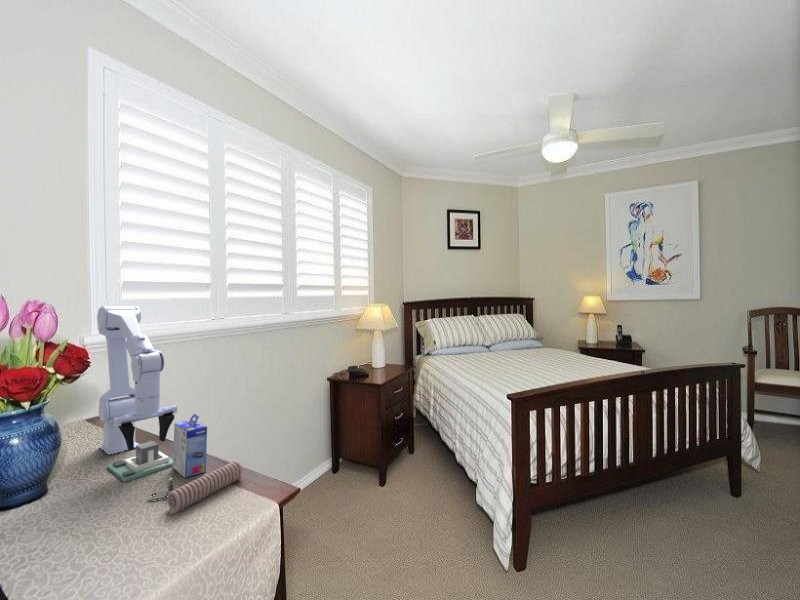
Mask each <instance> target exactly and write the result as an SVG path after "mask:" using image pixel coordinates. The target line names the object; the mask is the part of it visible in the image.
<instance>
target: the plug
mask: <svg viewBox="0 0 800 600" xmlns="http://www.w3.org/2000/svg"><path fill="white" fill-rule="evenodd" d="M139 444H140V443H139ZM158 451H159V443H157V442H155V441H154V440H151V441H147V442H145V443H141V444H140V445H136V448H135V456H136V464H137V465H141V464H144V463H147V462H150V461H154V460H157V459H158Z"/></svg>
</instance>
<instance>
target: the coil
mask: <svg viewBox="0 0 800 600" xmlns="http://www.w3.org/2000/svg"><path fill="white" fill-rule="evenodd" d="M242 467H243V466H242V465H241V463H240V462H239V461H237V460H234V461H231V462H229V463H227V464H225V465H223V466H222V467H219V468H217V469H215V470H213V471H211V472H208V473H207V474H204V475H203V476H200V477H199V478H196V479H195V480H191V482H188V483H185V484H184V485H182V486H179V487H177V488H174V491H171V492H169V494H168V497H167V498H166V499H167V505H168V506H169V508H170V509H171V510H169V512H170V513H173V514H172V515H175V514H174V513H176V514H178V511H179V512H181V511H182V510H184V509H183V508H185V509H186V508H187V506H188V507H190V506H191V504H192V505H194V504H196V503H198V502H199V501H201V500H200V499H202V500H203V499H204V497H205V498H206V497H208V495H209V496H211V495H212V494H214V493H215V491H216V492H218V491H219V489H220V490H222V489H223V487H224V488H225V487H227V486H229V485H231V484H232V483H235V482H236V481H239V480H240V479H241V478H242V474H243V469H242ZM211 493H212V494H211ZM171 497H172V498H171ZM197 501H198V502H197ZM172 509H173V510H172Z"/></svg>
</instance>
